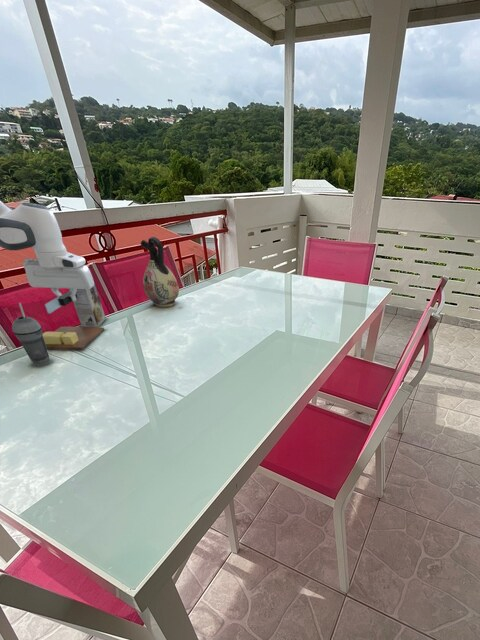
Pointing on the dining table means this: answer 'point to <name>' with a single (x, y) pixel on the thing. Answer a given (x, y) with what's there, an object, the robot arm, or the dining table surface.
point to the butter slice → (70, 338)
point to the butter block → (53, 337)
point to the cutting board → (83, 334)
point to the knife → (58, 302)
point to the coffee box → (89, 307)
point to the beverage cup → (31, 339)
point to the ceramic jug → (159, 276)
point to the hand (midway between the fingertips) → (67, 300)
